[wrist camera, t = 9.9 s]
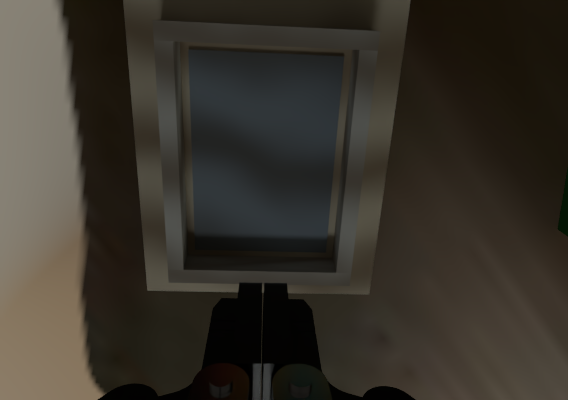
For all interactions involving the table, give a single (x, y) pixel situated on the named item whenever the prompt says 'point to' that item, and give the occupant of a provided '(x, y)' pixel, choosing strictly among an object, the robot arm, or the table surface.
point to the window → (263, 139)
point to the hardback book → (564, 210)
